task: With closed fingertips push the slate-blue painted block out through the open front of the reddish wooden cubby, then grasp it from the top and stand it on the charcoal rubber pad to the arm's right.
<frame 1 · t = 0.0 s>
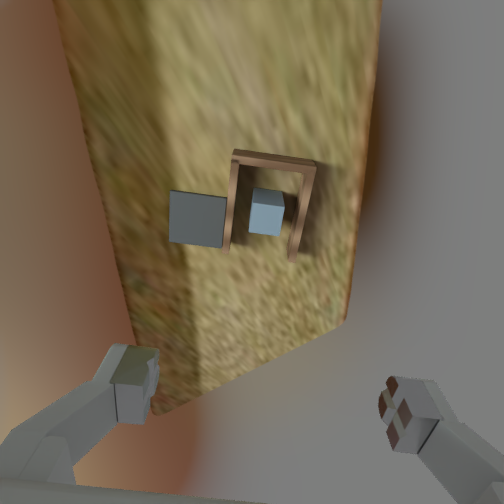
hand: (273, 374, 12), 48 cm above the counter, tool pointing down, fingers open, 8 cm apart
block: (265, 202, 59), resting in cubby
pad: (197, 219, 60), on the counter
cubby: (264, 208, 59), on the counter
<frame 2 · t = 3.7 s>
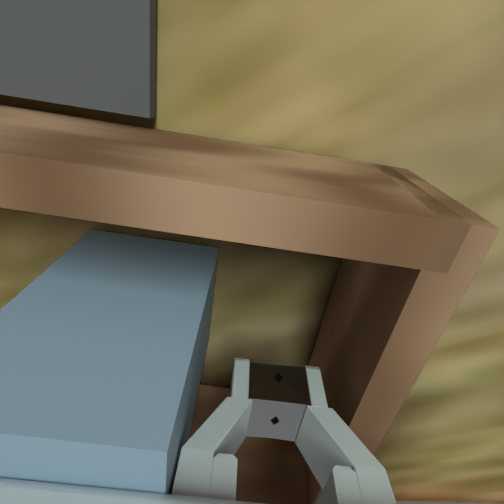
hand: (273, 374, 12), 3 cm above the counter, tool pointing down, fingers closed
block: (155, 290, 14), resting in cubby, touching gripper
cubby: (130, 287, 14), on the counter
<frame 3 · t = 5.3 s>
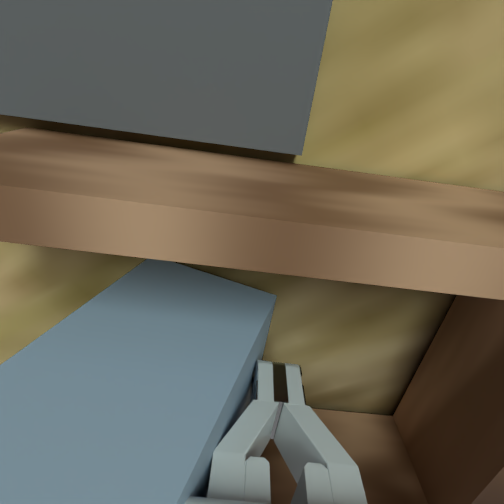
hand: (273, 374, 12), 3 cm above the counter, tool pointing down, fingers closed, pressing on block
block: (205, 326, 13), point 1 cm above the counter, tilted 18°, touching gripper
cubby: (243, 316, 14), on the counter
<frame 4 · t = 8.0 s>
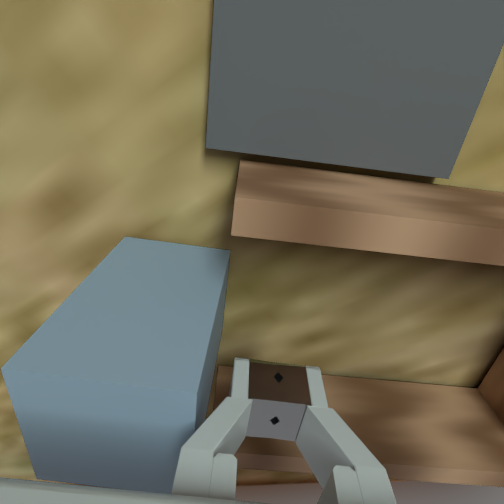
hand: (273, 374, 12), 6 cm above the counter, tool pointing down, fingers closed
block: (177, 287, 17), on the counter
pad: (359, 16, 11), on the counter
cubby: (370, 304, 17), on the counter
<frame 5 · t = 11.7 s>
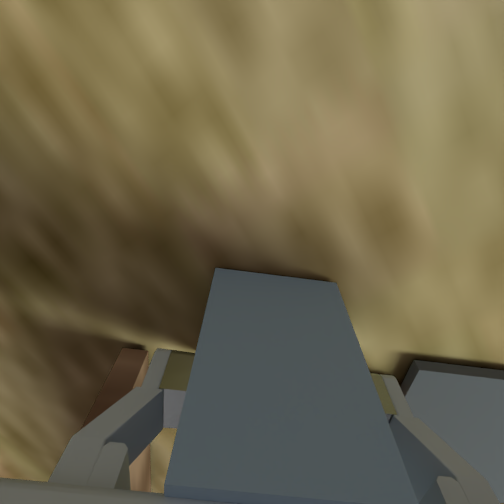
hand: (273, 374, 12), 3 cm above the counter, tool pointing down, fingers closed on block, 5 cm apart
block: (267, 322, 15), on the counter, touching gripper
pad: (469, 436, 18), on the counter
cubby: (242, 456, 19), on the counter
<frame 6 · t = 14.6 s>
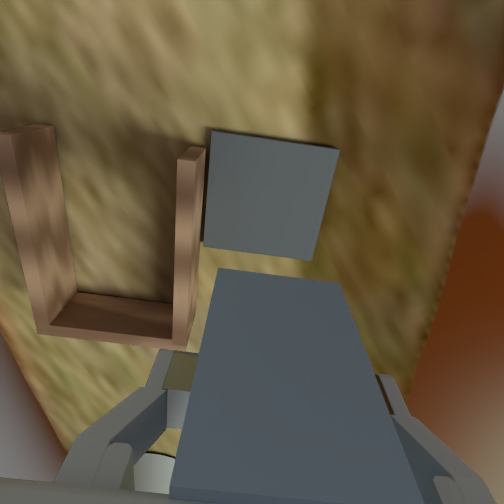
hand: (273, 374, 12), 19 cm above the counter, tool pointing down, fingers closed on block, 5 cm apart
block: (269, 323, 14), point 16 cm above the counter, touching gripper
pad: (266, 199, 28), on the counter
cubby: (127, 223, 29), on the counter
when the fingers open (5 cm above the counter, at t = 17.4 s): block drops 1 cm, resting on pad.
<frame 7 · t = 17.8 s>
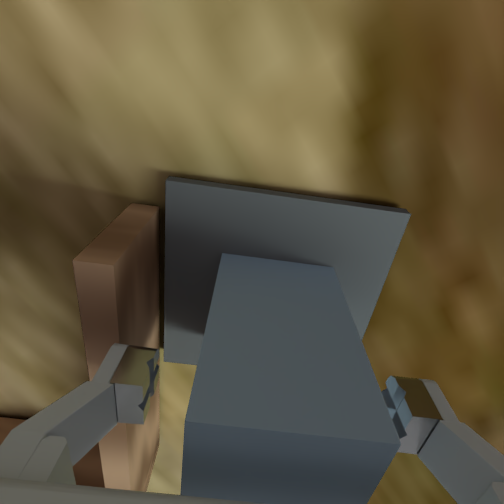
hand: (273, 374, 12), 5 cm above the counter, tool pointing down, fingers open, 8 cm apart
block: (269, 305, 16), point 1 cm above the counter, touching pad
pad: (270, 290, 16), on the counter
cubby: (34, 324, 17), on the counter
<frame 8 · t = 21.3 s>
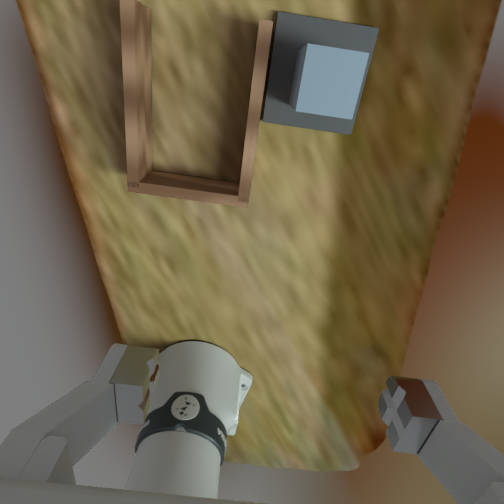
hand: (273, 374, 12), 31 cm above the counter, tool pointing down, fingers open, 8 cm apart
block: (316, 82, 34), point 1 cm above the counter, touching pad
pad: (316, 77, 35), on the counter
cubby: (201, 102, 36), on the counter
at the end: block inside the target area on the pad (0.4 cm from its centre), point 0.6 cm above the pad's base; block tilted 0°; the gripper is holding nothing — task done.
